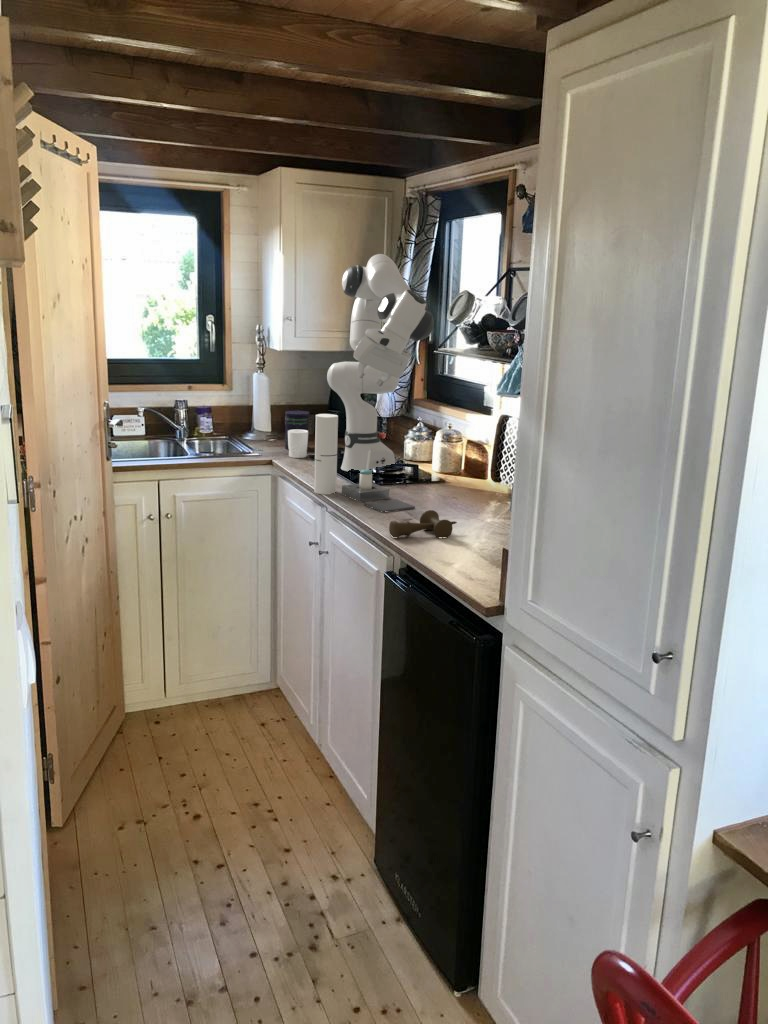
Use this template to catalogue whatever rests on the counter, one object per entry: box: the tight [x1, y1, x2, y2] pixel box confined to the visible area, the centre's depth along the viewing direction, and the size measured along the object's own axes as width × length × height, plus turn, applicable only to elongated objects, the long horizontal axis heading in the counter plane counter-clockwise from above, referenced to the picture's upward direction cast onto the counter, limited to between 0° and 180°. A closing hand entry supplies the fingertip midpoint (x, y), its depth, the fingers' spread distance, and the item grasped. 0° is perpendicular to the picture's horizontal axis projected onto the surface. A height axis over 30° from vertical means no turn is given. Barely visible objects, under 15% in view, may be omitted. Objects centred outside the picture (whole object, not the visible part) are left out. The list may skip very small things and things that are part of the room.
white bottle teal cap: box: [358, 469, 373, 490], centre depth 269 cm, size 4×4×8 cm
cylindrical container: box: [313, 413, 339, 495], centre depth 271 cm, size 7×7×25 cm
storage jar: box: [284, 409, 310, 451], centre depth 340 cm, size 10×10×15 cm
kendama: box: [388, 509, 457, 538], centre depth 230 cm, size 6×10×20 cm
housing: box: [341, 482, 390, 502], centre depth 270 cm, size 11×11×3 cm
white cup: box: [288, 429, 309, 459], centre depth 326 cm, size 8×8×10 cm
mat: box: [364, 498, 416, 513], centre depth 259 cm, size 12×10×1 cm
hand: (369, 381), depth 259 cm, fingers open, 8 cm apart
